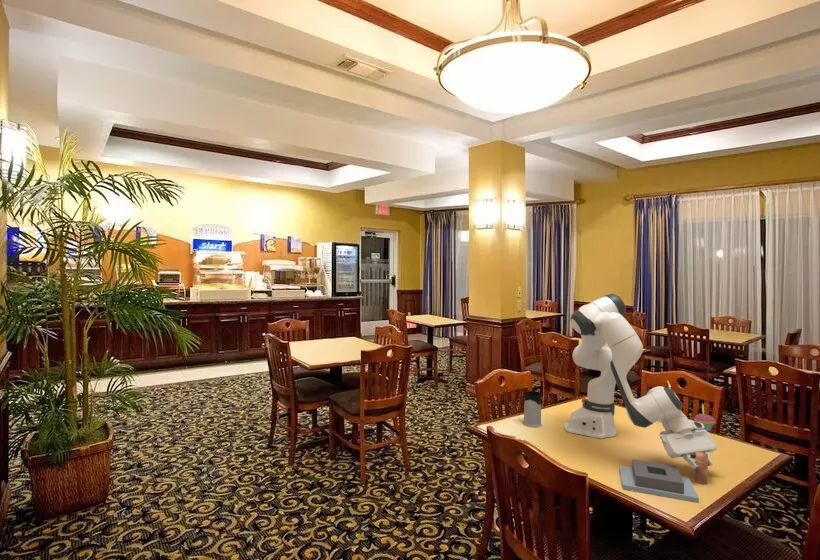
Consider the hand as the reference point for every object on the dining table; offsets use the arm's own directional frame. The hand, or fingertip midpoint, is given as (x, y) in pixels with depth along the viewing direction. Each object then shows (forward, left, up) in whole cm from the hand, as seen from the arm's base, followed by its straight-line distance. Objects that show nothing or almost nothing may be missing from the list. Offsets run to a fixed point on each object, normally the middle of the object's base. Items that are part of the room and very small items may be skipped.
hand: (703, 466), depth 158 cm
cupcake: (+14, +63, -6) cm, 65 cm away
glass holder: (-61, +39, -6) cm, 73 cm away
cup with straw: (-1, +65, -6) cm, 65 cm away
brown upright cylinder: (0, 0, -6) cm, 6 cm away
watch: (+1, +25, -6) cm, 26 cm away
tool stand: (-15, -9, -6) cm, 18 cm away
